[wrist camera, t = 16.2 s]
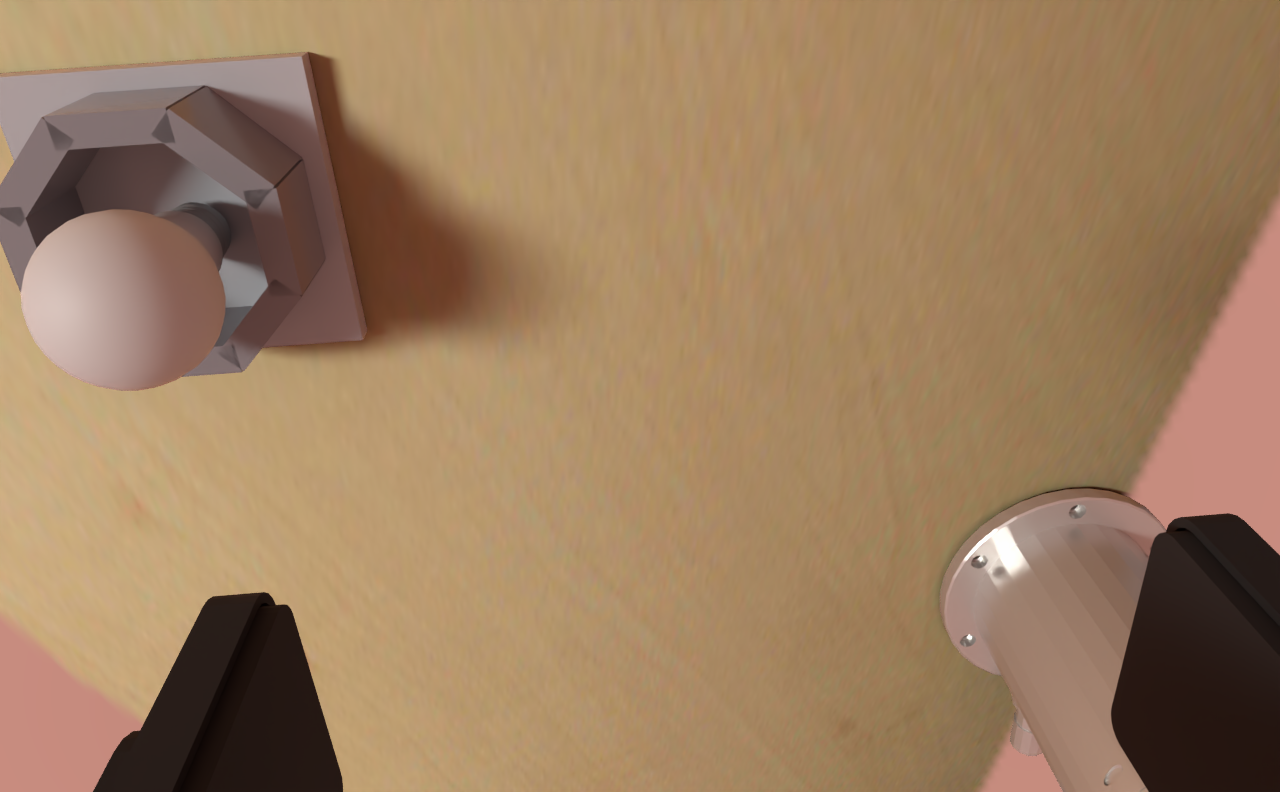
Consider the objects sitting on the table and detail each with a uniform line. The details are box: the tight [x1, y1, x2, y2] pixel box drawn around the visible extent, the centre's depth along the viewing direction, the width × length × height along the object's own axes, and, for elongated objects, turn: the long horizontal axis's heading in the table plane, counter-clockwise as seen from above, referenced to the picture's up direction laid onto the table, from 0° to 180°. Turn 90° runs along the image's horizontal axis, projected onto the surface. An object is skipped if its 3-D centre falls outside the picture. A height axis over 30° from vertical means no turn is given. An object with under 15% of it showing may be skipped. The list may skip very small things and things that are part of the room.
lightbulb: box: [21, 202, 231, 391], centre depth 35 cm, size 6×6×11 cm
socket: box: [0, 52, 367, 377], centre depth 38 cm, size 12×12×5 cm
